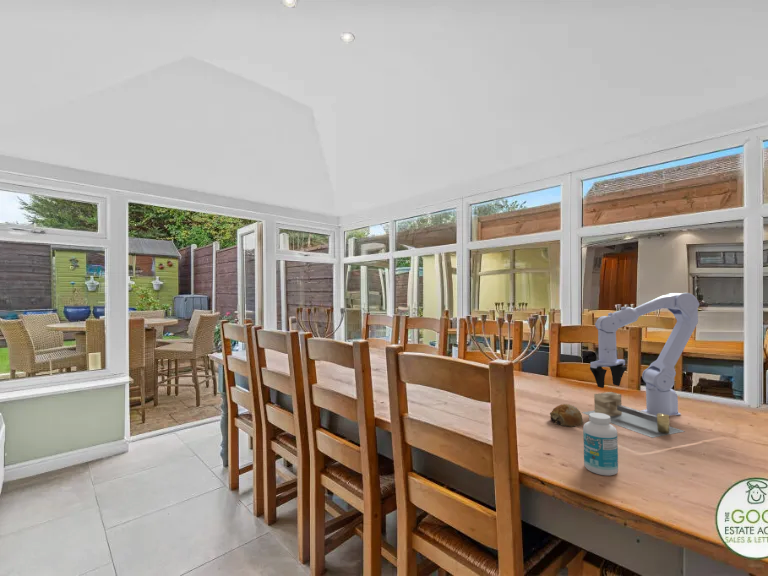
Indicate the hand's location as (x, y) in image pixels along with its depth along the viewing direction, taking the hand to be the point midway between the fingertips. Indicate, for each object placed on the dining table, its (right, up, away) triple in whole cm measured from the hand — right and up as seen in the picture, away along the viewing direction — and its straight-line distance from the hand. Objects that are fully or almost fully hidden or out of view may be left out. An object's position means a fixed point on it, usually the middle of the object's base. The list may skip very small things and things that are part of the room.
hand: (608, 386), depth 139 cm
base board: (0, -9, -12) cm, 15 cm away
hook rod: (+1, -8, -16) cm, 18 cm away
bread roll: (-20, -10, -10) cm, 25 cm away
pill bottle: (-28, -10, -44) cm, 53 cm away
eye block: (-3, -9, -4) cm, 10 cm away
